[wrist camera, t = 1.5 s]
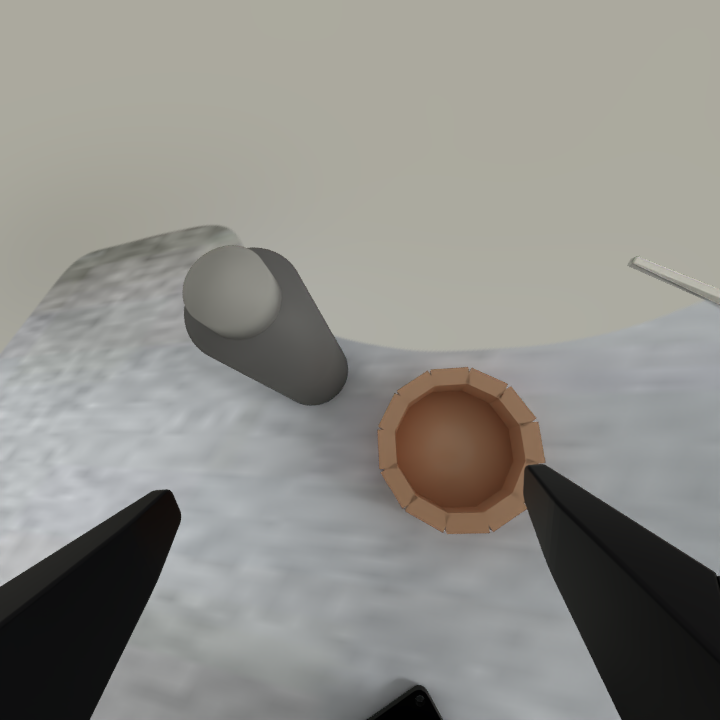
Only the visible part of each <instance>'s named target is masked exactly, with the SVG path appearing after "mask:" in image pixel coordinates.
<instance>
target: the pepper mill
mask: <svg viewBox="0 0 720 720" xmlns="http://www.w3.org/2000/svg"><path fill="white" fill-rule="evenodd" d="M183 301H184V304H185V307H184V319H185V325H186V329H187V332H188V334H189V336H190V338H191V340H192V341H193V343H194V344H195V345H196V346H197V347H198V348H199V349H200V350H201V351H202V352H203V353H205V354H207V355H208V356H210V357H212V358H214V359H216V360H217V361H219V362H221V363H223V364H225V365H227V366H229V367H231V368H233V369H235V370H237V371H239V372H240V373H242V374H244V375H246V376H248V377H250V378H252V379H254V380H256V381H258V382H260V383H262V384H263V385H265V386H267V387H269V388H271V389H273V390H275V391H277V392H279V393H281V394H283V395H285V396H286V397H288V398H290V399H292V400H294V401H296V402H298V403H301V404H304V405H319V404H323V403H325V402H328V401H329V400H331V399H332V398H334V397H335V396H336V395H337V394H338V393H339V392H340V391H341V389H342V388H343V386H344V384H345V382H346V379H347V374H348V365H347V360H346V357H345V355H344V353H343V351H342V350H341V348H340V346H339V344H338V343H337V341H336V339H335V337H334V336H333V334H332V332H331V331H330V329H329V327H328V325H327V323H326V322H325V320H324V318H323V316H322V315H321V313H320V311H319V309H318V307H317V306H316V304H315V302H314V300H313V299H312V297H311V295H310V293H309V292H308V290H307V288H306V286H305V285H304V283H303V281H302V279H301V278H300V276H299V274H298V272H297V271H296V269H295V268H294V267H293V265H292V264H291V263H290V262H289V261H288V260H287V259H286V258H284V257H283V256H281V255H280V254H278V253H276V252H273V251H271V250H268V249H262V248H245V247H241V246H234V245H232V246H223V247H219V248H216V249H213V250H211V251H209V252H207V253H206V254H204V255H203V256H202V257H200V258H199V259H198V260H197V261H196V262H195V263H194V264H193V266H192V267H191V268H190V270H189V272H188V273H187V275H186V278H185V281H184V284H183Z"/></svg>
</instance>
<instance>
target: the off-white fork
mask: <svg viewBox="0 0 720 720" xmlns="http://www.w3.org/2000/svg"><path fill="white" fill-rule="evenodd" d="M628 266H629V267H631V268H633V269H636V270H638V271H640V272H643V273H645V274H647V275H649V276H652V277H654V278H656V279H658V280H661V281H663V282H665V283H667V284H670V285H672V286H674V287H677V288H679V289H681V290H683V291H686V292H688V293H690V294H693V295H695V296H697V297H699V298H701V299H704V300H707V299H709V300H711V301H713V302H715V303H717V304H719V305H720V289H718V288H716V287H713V286H710V285H708V284H706V283H703V282H701V281H698V280H696V279H693V278H691V277H688V276H686V275H683V274H681V273H679V272H676V271H674V270H671V269H669V268H666V267H663V266H661V265H659V264H656V263H654V262H651V261H649V260H646V259H644V258H641V257H639V256H637V257H634V258H632V259H631V260H630V261H629V263H628Z"/></svg>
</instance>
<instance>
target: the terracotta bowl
mask: <svg viewBox="0 0 720 720" xmlns="http://www.w3.org/2000/svg"><path fill="white" fill-rule="evenodd" d="M507 385H508V384H507V383H505V382H502V381H500V380H498V379H496V378H493V377H491V376H489V375H487V374H484V373H482V372H480V371H478V370H476V369H473V368H471V369H470V371H469V369H468V367H463V368H448V369H433V370H431V371H430V373H429V372H428V371H426V372H425V373H423V374H422V375H420V376H419V377H417V378H416V379H414V380H413V381H411V382H409V383H408V384H406V385H405V386H403V387H402V388H400V389H399V390H397V394H396V393H395V394H394V396H393V398H392V400H391V402H390V404H389V406H388V408H387V410H386V412H385V414H384V416H383V418H382V420H381V422H380V424H379V426H378V427H379V428H380V429H381V430H378V450H379V469H384V471H382V472H381V474H382V476H383V477H384V479H385V481H386V482H387V484H388V486H389V487H390V489H391V490H392V492H393V494H394V495H395V497H396V499H397V500H398V502H399V503H400V505H401V507H402V508H404V507H405V511H406V512H408V513H409V514H411V515H413V516H415V517H416V518H418V519H420V520H422V521H423V522H425V523H427V524H429V525H430V526H432V527H434V528H436V529H437V530H439V531H441V532H444V530H445V531H446V533H447V534H466V533H490V532H489V529H490V530H492V531H493V532H494V531H495V530H497V529H498V528H500V527H501V526H503V525H504V524H506V523H507V522H509V521H510V520H511V519H513V518H514V517H516V516H517V515H519V514H520V513H522V512H523V511H525V510H526V509H527V507H526V505H525V504H524V503H525V501H524V496H523V484H524V469H525V467H526V466H527V465H533V464H538V463H545V457H544V452H543V446H542V440H541V435H540V429H539V424H538V422H532V421H533V420H535V419H536V417H535V416H534V415H533V413H532V412H531V411H530V410H529V408H528V407H527V406H526V405H525V403H524V402H523V401H522V400H521V398H520V397H519V396H518V395H517V393H516V392H515V391H514V390H513V388H512V387H511V386H510V387H509V388H507V389H506V387H507ZM505 389H506V390H505Z"/></svg>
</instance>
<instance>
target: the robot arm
mask: <svg viewBox="0 0 720 720" xmlns="http://www.w3.org/2000/svg"><path fill="white" fill-rule="evenodd" d="M523 496H524V501H525V504H526V507H527V510H528V512H529V515H530V518H531V521H532V524H533V526H534V529H535V532H536V535H537V537H538V540H539V543H540V546H541V549H542V551H543V554H544V557H545V559H546V562H547V565H548V567H549V569H550V572H551V574H552V576H553V578H554V580H555V583H556V585H557V587H558V589H559V591H560V593H561V595H562V597H563V599H564V601H565V603H566V605H567V607H568V610H569V612H570V614H571V616H572V618H573V620H574V622H575V624H576V626H577V628H578V630H579V632H580V634H581V637H582V639H583V641H584V643H585V645H586V647H587V649H588V651H589V653H590V655H591V657H592V659H593V661H594V664H595V666H596V668H597V670H598V672H599V674H600V676H601V678H602V680H603V682H604V684H605V686H606V688H607V691H608V693H609V695H610V697H611V699H612V701H613V703H614V705H615V707H616V709H617V711H618V713H619V715H620V718H621V720H720V576H716V573H715V572H714V571H712V570H710V569H709V568H707V567H706V566H704V565H703V564H701V563H699V562H698V561H696V560H695V559H693V558H691V557H690V556H688V555H687V554H685V553H684V552H682V551H680V550H679V549H677V548H676V547H674V546H673V545H671V544H669V543H668V542H666V541H665V540H663V539H662V538H660V537H658V536H657V535H655V534H654V533H652V532H651V531H649V530H647V529H646V528H644V527H643V526H641V525H639V524H638V523H636V522H635V521H633V520H632V519H630V518H628V517H627V516H625V515H624V514H622V513H621V512H619V511H617V510H616V509H614V508H613V507H611V506H610V505H608V504H606V503H605V502H603V501H602V500H600V499H598V498H597V497H595V496H594V495H592V494H591V493H589V492H587V491H586V490H584V489H583V488H581V487H580V486H578V485H576V484H575V483H573V482H572V481H570V480H569V479H567V478H565V477H564V476H562V475H561V474H559V473H557V472H556V471H554V470H553V469H551V468H550V467H548V466H546V465H544V464H533V465H527V466H526V467H525V469H524V484H523ZM180 522H181V512H180V509H179V507H178V505H177V502H176V500H175V497H174V495H173V493H172V492H171V491H170V490H167V489H166V490H155V491H152V492H150V493H149V494H147V495H145V496H144V497H142V498H141V499H139V500H137V501H136V502H134V503H133V504H131V505H129V506H128V507H126V508H125V509H123V510H122V511H120V512H118V513H117V514H115V515H114V516H112V517H110V518H109V519H107V520H106V521H104V522H102V523H101V524H99V525H98V526H96V527H95V528H93V529H91V530H90V531H88V532H87V533H85V534H83V535H82V536H80V537H79V538H77V539H75V540H74V541H72V542H71V543H69V544H67V545H66V546H64V547H63V548H61V549H60V550H58V551H56V552H55V553H53V554H52V555H50V556H48V557H47V558H45V559H44V560H42V561H40V562H39V563H37V564H36V565H34V566H33V567H31V568H29V569H28V570H26V571H25V572H23V573H21V574H20V575H18V576H17V577H15V578H13V579H12V580H10V581H9V582H7V583H5V584H4V585H2V586H1V587H0V720H90V718H91V716H92V714H93V712H94V710H95V708H96V706H97V704H98V702H99V700H100V698H101V696H102V694H103V692H104V690H105V687H106V685H107V683H108V681H109V679H110V677H111V675H112V673H113V671H114V669H115V667H116V665H117V663H118V661H119V659H120V657H121V655H122V653H123V651H124V649H125V647H126V645H127V643H128V641H129V639H130V637H131V635H132V632H133V630H134V628H135V626H136V624H137V622H138V620H139V618H140V616H141V614H142V612H143V610H144V608H145V606H146V604H147V602H148V600H149V598H150V596H151V594H152V592H153V589H154V587H155V585H156V583H157V581H158V578H159V576H160V573H161V571H162V568H163V566H164V563H165V561H166V558H167V556H168V553H169V550H170V548H171V545H172V543H173V540H174V538H175V535H176V532H177V530H178V527H179V525H180ZM418 695H421V696H423V698H424V700H423V701H422V702H419V701H417V700H416V697H417V696H418ZM367 720H443V719H442V717H441V715H440V713H439V711H438V710H437V708H436V706H435V704H434V702H433V700H432V699H431V697H430V695H429V693H428V691H427V690H426V688H425V687H423V686H421V685H416V686H414V687H413V688H411V689H410V690H408V691H407V692H406V693H404V694H403V695H401V696H400V697H398V698H397V699H396V700H394V701H393V702H391V703H390V704H389V705H387V706H386V707H384V708H383V709H381V710H380V711H379V712H377V713H376V714H374V715H373V716H372V717H370V718H369V719H367Z"/></svg>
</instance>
